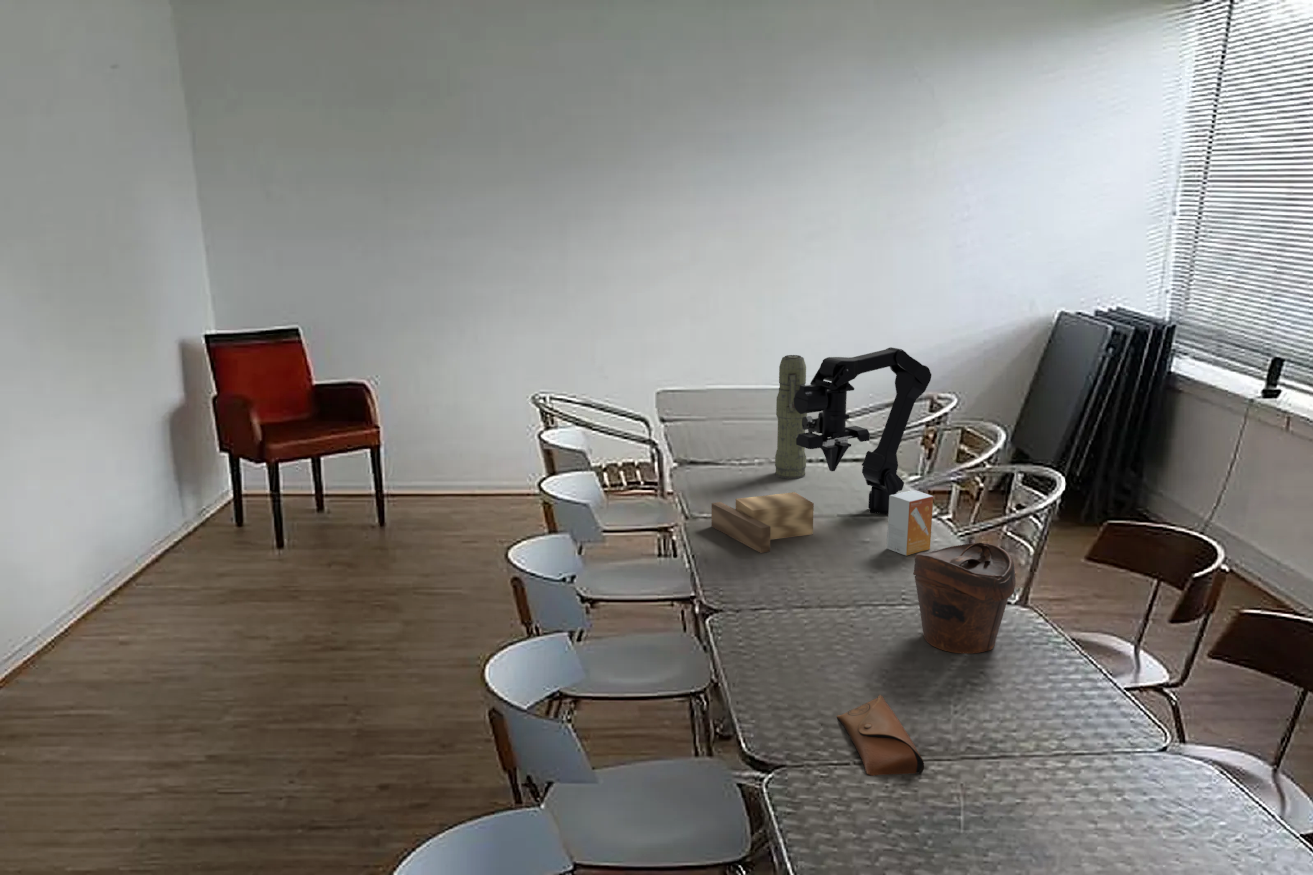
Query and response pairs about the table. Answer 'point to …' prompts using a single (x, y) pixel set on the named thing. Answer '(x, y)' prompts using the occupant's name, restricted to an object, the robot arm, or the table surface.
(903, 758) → the sunglasses case
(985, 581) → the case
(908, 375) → the robot arm
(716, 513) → the walnut board
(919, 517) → the small box
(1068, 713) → the table surface
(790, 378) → the thermos
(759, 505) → the oak block
